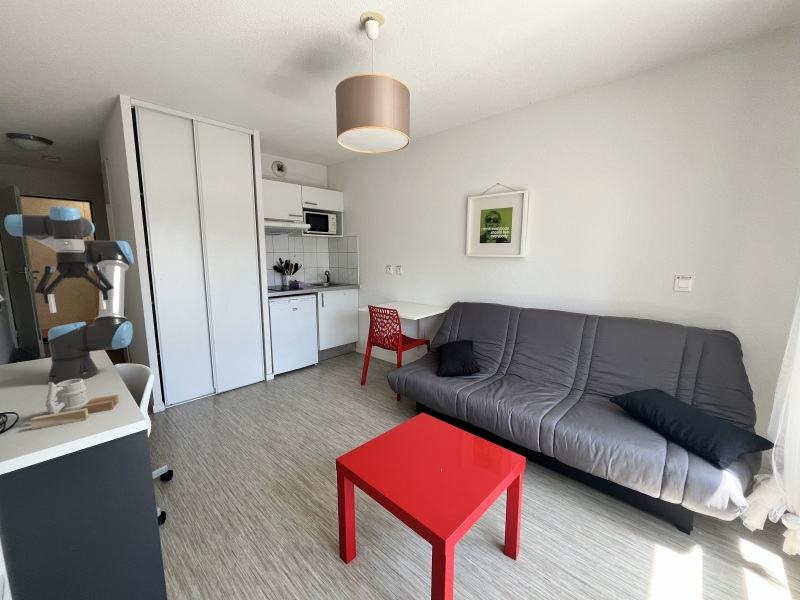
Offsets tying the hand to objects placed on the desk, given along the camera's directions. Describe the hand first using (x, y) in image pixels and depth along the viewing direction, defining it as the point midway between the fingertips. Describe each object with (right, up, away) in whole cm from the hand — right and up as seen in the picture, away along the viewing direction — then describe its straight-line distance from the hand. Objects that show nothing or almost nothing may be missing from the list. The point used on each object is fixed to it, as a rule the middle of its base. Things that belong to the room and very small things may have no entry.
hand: (79, 310), depth 118 cm
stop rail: (+13, -34, -19) cm, 41 cm away
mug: (+8, -33, -12) cm, 36 cm away
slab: (+16, -33, -8) cm, 38 cm away
